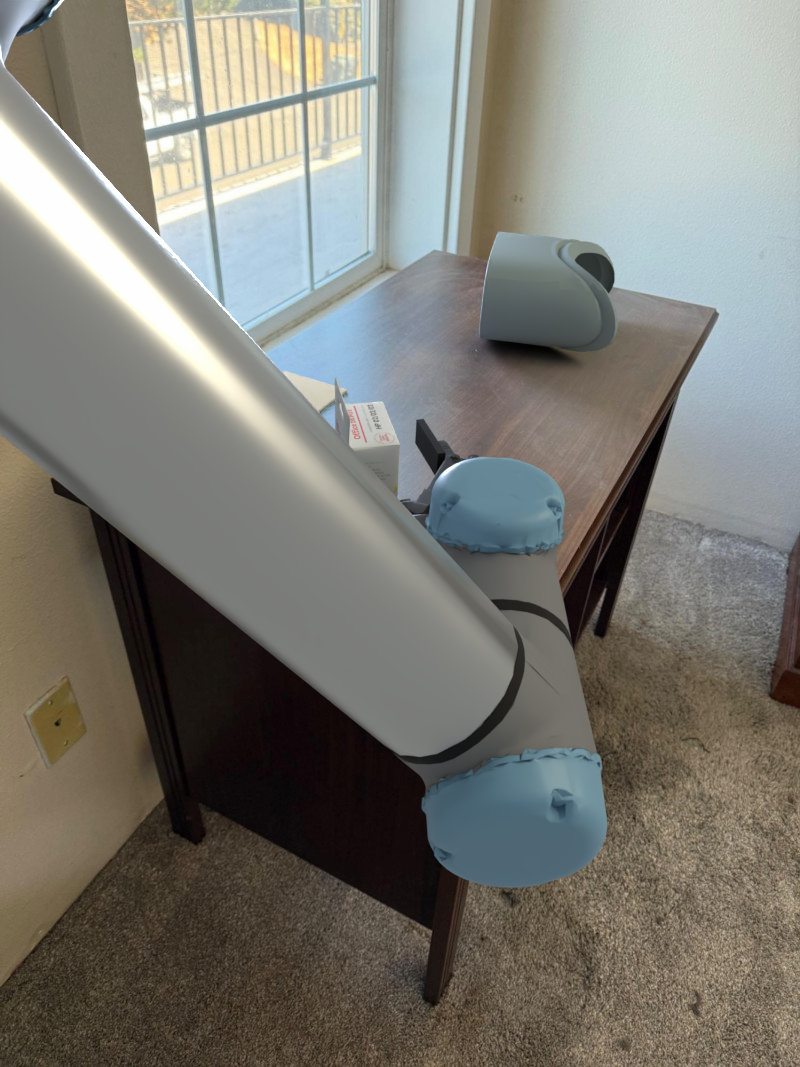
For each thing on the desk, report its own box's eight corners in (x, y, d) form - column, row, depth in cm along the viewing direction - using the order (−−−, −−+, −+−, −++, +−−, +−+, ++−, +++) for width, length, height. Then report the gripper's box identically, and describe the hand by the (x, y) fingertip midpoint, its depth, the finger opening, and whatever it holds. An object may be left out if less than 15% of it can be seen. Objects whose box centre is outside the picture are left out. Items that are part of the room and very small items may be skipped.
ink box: (398, 547, 73) (404, 414, 64) (347, 552, 72) (346, 419, 63) (381, 497, 80) (384, 370, 70) (334, 501, 79) (331, 373, 69)
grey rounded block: (491, 301, 125) (500, 221, 117) (606, 313, 123) (624, 232, 115) (476, 355, 108) (485, 266, 100) (609, 371, 106) (629, 281, 98)
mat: (264, 453, 86) (263, 451, 85) (196, 429, 89) (196, 427, 89) (347, 391, 98) (347, 389, 98) (285, 372, 102) (284, 370, 101)
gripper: (271, 644, 57) (235, 487, 73) (560, 588, 63) (468, 455, 79) (264, 569, 52) (227, 419, 68) (577, 517, 58) (475, 391, 74)
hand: (356, 438), depth 73 cm, fingers open, 12 cm apart
